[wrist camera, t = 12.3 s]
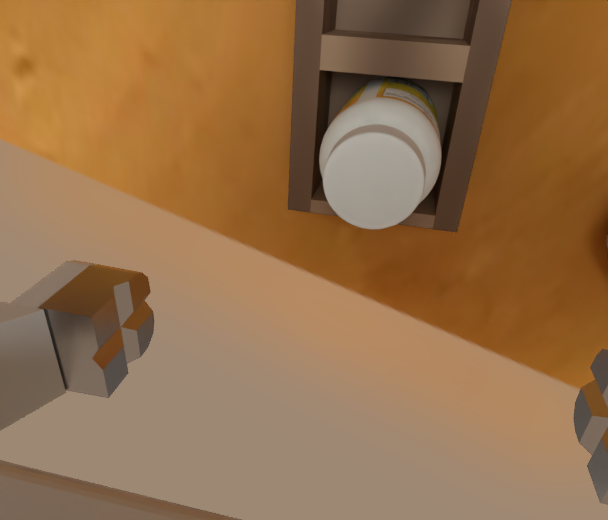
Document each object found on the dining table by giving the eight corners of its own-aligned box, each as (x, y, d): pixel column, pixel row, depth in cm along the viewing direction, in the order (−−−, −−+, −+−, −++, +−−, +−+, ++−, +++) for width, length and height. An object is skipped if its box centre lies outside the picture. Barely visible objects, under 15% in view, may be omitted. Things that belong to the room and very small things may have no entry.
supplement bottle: (429, 63, 25) (434, 96, 17) (444, 161, 27) (455, 233, 19) (330, 89, 27) (290, 131, 18) (351, 180, 29) (324, 253, 21)
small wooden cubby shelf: (528, -144, 21) (552, -176, 17) (452, 200, 29) (457, 232, 25) (323, -147, 22) (303, -177, 18) (304, 182, 30) (287, 209, 26)
